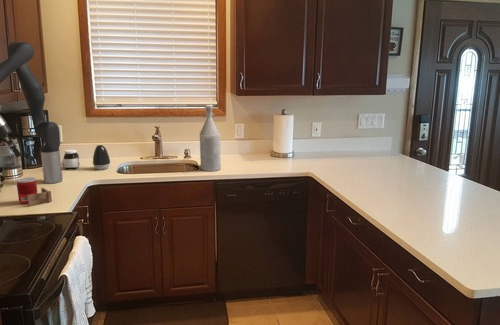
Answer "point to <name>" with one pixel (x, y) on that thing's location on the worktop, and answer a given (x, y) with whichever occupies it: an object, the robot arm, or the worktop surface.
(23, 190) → the canned food
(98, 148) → the black egg shaped device
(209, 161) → the grey bottle
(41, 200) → the v-block stop
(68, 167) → the spread jar
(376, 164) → the worktop surface
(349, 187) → the worktop surface
